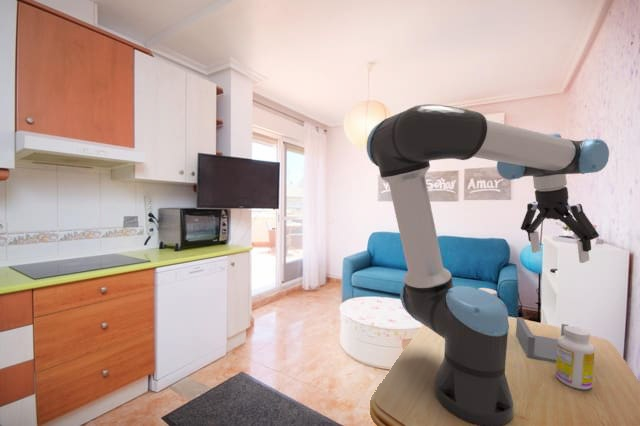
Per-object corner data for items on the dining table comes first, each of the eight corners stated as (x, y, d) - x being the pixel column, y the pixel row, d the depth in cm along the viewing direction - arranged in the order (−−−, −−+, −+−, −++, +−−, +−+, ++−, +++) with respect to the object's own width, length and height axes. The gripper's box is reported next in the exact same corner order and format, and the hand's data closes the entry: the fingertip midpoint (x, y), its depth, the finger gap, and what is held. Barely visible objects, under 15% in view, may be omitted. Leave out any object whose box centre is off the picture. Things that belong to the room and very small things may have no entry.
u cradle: (527, 356, 80) (528, 336, 80) (515, 334, 93) (516, 316, 93) (587, 368, 75) (589, 347, 75) (566, 343, 88) (568, 324, 87)
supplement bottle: (588, 379, 71) (592, 328, 70) (594, 395, 65) (599, 340, 64) (553, 369, 74) (557, 321, 74) (556, 383, 69) (560, 331, 68)
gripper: (612, 184, 74) (619, 262, 77) (520, 185, 98) (528, 244, 101) (591, 191, 72) (599, 271, 75) (502, 190, 96) (511, 251, 99)
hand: (558, 256), depth 88 cm, fingers open, 13 cm apart
